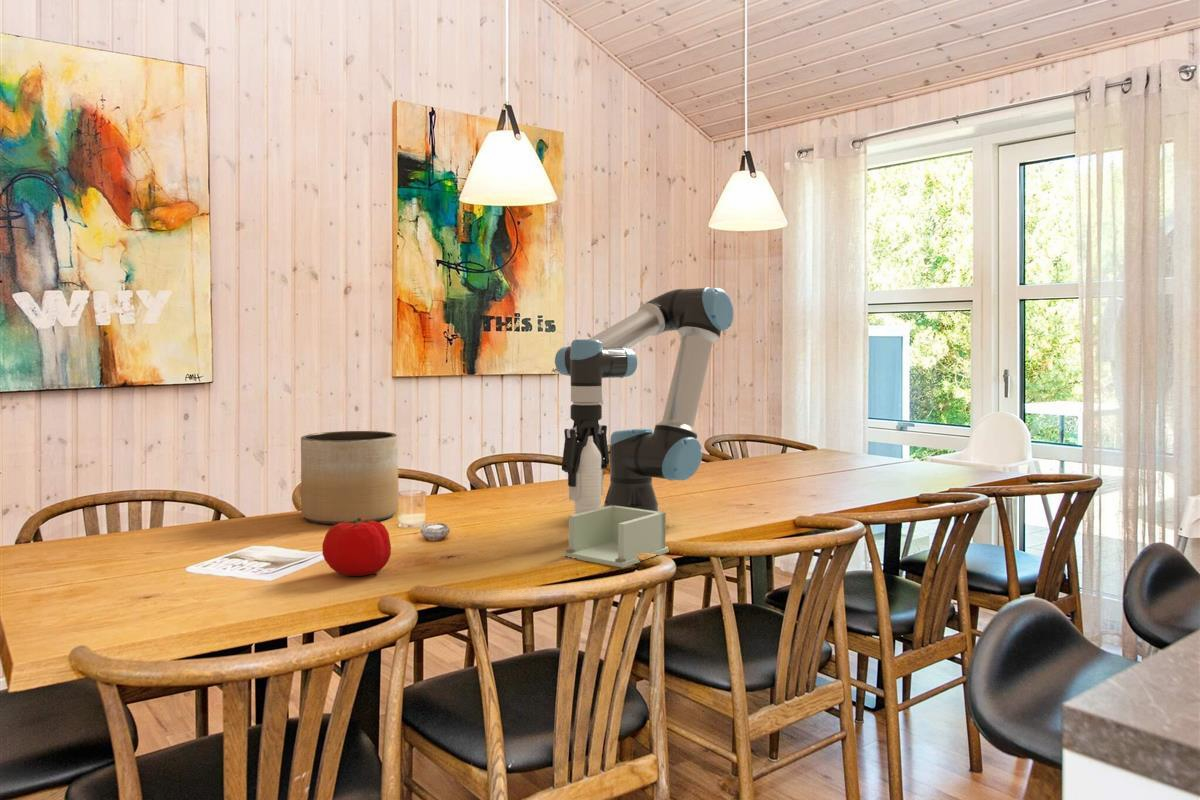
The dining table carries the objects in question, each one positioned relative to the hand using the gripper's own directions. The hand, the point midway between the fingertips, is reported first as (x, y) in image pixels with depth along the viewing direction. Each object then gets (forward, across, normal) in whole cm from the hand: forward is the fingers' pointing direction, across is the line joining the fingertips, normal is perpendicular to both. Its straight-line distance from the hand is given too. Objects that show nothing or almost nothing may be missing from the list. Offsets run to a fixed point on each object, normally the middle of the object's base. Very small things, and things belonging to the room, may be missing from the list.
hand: (586, 497), depth 212 cm
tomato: (+10, +55, -16) cm, 58 cm away
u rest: (+10, +9, +16) cm, 21 cm away
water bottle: (+10, 0, 0) cm, 10 cm away
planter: (+10, +19, -66) cm, 69 cm away
